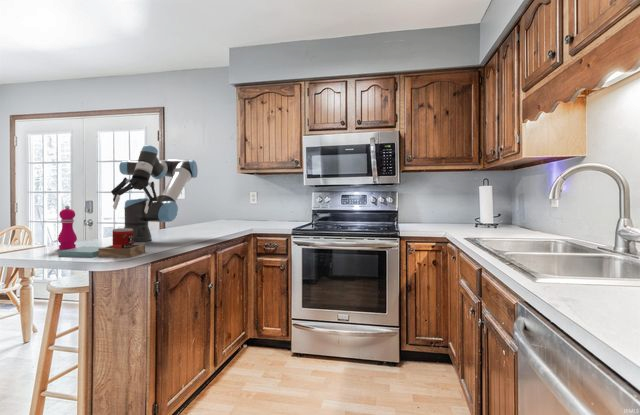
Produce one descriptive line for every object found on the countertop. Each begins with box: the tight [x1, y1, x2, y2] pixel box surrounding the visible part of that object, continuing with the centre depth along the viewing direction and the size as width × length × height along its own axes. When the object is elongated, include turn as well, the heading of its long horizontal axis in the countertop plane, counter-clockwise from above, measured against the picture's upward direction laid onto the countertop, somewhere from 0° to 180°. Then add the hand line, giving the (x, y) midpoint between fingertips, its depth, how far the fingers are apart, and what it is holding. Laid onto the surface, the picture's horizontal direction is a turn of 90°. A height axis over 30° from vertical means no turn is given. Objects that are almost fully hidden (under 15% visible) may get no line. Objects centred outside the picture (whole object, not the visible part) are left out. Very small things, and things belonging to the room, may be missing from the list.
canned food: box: [112, 227, 134, 249], centre depth 151 cm, size 8×8×11 cm
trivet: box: [58, 245, 103, 258], centre depth 151 cm, size 14×14×2 cm
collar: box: [98, 243, 146, 258], centre depth 151 cm, size 13×13×4 cm
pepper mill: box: [57, 205, 78, 250], centre depth 163 cm, size 7×7×20 cm
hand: (130, 210), depth 165 cm, fingers open, 13 cm apart
